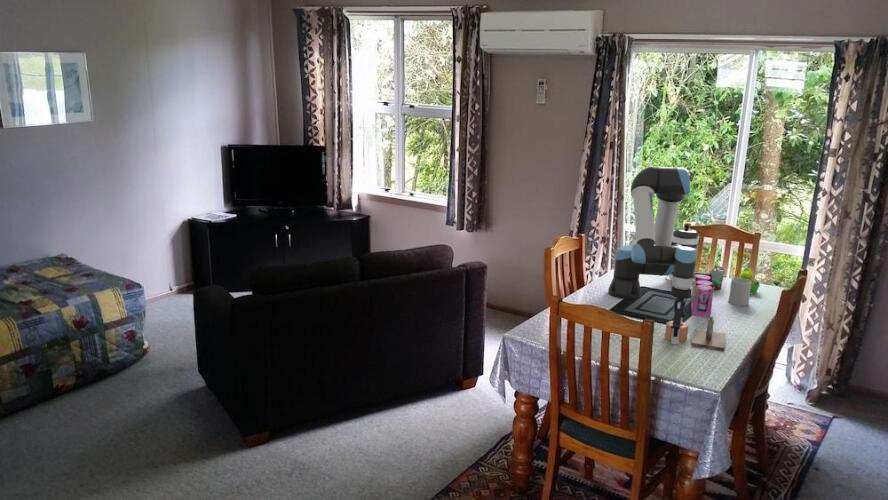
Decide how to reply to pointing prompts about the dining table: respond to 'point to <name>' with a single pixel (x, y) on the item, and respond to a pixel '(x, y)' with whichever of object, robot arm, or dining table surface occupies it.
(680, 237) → the coffee press
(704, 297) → the gum box
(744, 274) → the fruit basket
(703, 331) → the peg board
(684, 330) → the hex nut
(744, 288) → the mug
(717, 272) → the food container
